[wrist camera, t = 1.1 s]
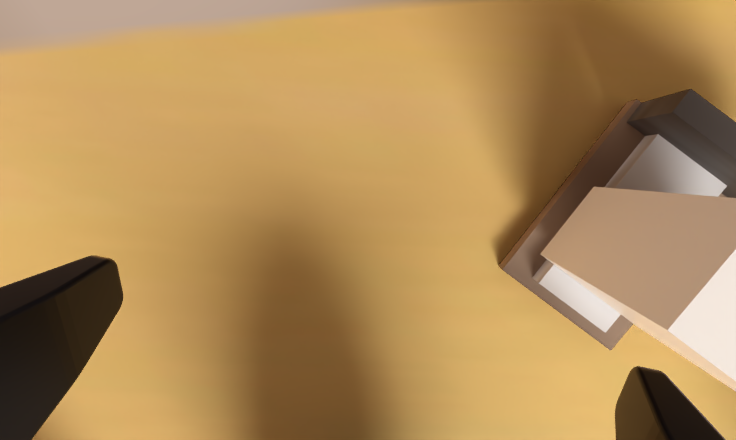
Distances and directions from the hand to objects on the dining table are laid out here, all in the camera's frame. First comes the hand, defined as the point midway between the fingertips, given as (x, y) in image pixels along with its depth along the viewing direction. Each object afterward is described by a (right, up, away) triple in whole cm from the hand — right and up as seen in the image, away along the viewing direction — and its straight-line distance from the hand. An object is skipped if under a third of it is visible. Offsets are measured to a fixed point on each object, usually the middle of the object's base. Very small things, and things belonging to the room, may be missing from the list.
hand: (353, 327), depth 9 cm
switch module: (+10, 0, +13) cm, 17 cm away
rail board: (+11, +2, +15) cm, 19 cm away
